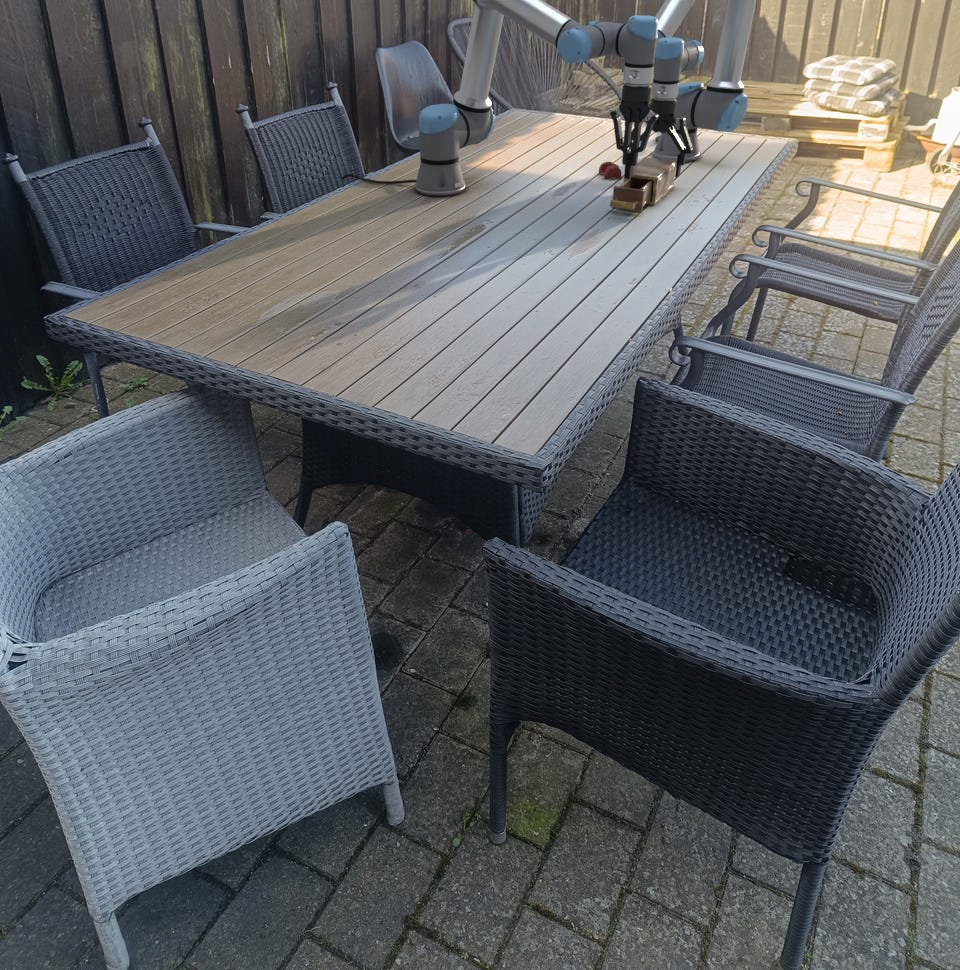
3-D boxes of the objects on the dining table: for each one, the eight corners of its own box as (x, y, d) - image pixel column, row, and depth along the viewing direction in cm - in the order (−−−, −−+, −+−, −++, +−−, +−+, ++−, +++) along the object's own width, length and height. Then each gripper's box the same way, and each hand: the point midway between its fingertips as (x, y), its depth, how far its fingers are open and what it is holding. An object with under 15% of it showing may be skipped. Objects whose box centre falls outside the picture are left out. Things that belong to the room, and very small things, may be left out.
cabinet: (654, 205, 246) (657, 177, 241) (621, 201, 249) (624, 173, 245) (672, 187, 260) (676, 160, 255) (641, 183, 264) (644, 157, 259)
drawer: (635, 218, 234) (637, 196, 230) (605, 213, 237) (607, 192, 233) (659, 195, 251) (662, 174, 247) (631, 191, 254) (633, 170, 250)
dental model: (614, 158, 272) (623, 164, 265) (613, 171, 274) (622, 178, 268) (597, 159, 271) (606, 166, 264) (597, 173, 273) (606, 180, 267)
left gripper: (608, 84, 218) (601, 177, 232) (657, 88, 213) (646, 183, 227) (618, 79, 224) (610, 170, 237) (665, 83, 219) (655, 176, 233)
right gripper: (618, 96, 245) (612, 171, 258) (703, 104, 236) (692, 181, 249) (626, 91, 251) (620, 165, 263) (710, 99, 242) (699, 175, 254)
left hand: (628, 177), depth 232 cm, fingers closed
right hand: (655, 173), depth 256 cm, fingers open, 13 cm apart
